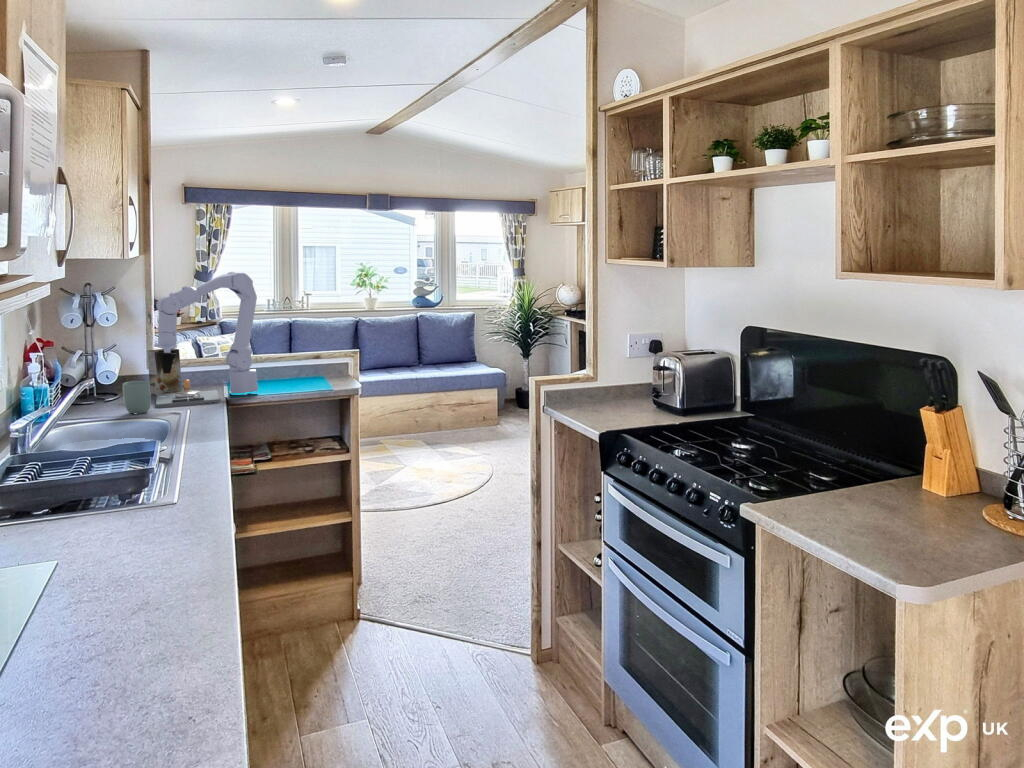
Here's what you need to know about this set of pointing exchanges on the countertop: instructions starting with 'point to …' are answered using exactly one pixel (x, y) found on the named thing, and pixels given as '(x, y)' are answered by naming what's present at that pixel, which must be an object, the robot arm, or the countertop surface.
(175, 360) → the coffee box
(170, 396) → the gray mechanism base plate
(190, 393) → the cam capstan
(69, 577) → the countertop surface
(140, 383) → the cup
